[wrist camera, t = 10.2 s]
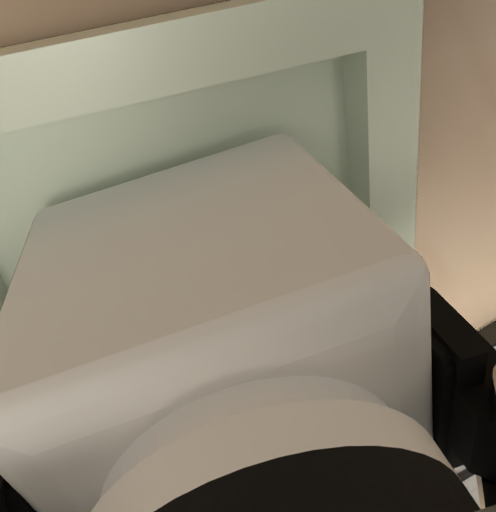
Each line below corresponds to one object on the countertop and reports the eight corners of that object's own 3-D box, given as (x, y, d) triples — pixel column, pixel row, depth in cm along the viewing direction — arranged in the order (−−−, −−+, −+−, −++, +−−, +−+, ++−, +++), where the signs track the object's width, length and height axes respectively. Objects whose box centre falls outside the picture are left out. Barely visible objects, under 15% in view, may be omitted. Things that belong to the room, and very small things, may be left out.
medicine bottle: (30, 208, 12) (-449, 1392, 2) (287, 126, 12) (978, 724, 2) (131, 385, 16) (150, 1081, 6) (324, 317, 16) (646, 851, 6)
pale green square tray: (374, -30, 13) (424, -33, 11) (379, 339, 20) (409, 380, 18) (-161, 80, 11) (-225, 103, 9) (61, 436, 19) (53, 493, 16)
